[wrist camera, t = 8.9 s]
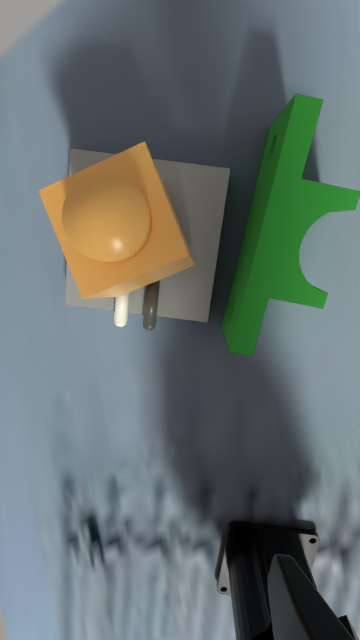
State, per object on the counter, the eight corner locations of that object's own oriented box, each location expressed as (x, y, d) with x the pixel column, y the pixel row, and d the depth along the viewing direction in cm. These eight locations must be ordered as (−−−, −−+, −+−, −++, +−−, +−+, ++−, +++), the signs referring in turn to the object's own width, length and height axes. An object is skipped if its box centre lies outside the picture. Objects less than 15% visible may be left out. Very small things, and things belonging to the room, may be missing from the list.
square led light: (195, 265, 17) (186, 252, 11) (117, 296, 18) (71, 299, 12) (163, 183, 17) (138, 127, 11) (86, 218, 17) (23, 181, 12)
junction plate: (204, 327, 20) (209, 358, 16) (73, 311, 20) (37, 337, 16) (227, 173, 18) (241, 153, 13) (79, 154, 18) (39, 128, 13)
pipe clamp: (279, 337, 21) (304, 367, 16) (220, 325, 21) (229, 353, 16) (338, 140, 18) (388, 112, 13) (269, 125, 18) (296, 92, 13)
